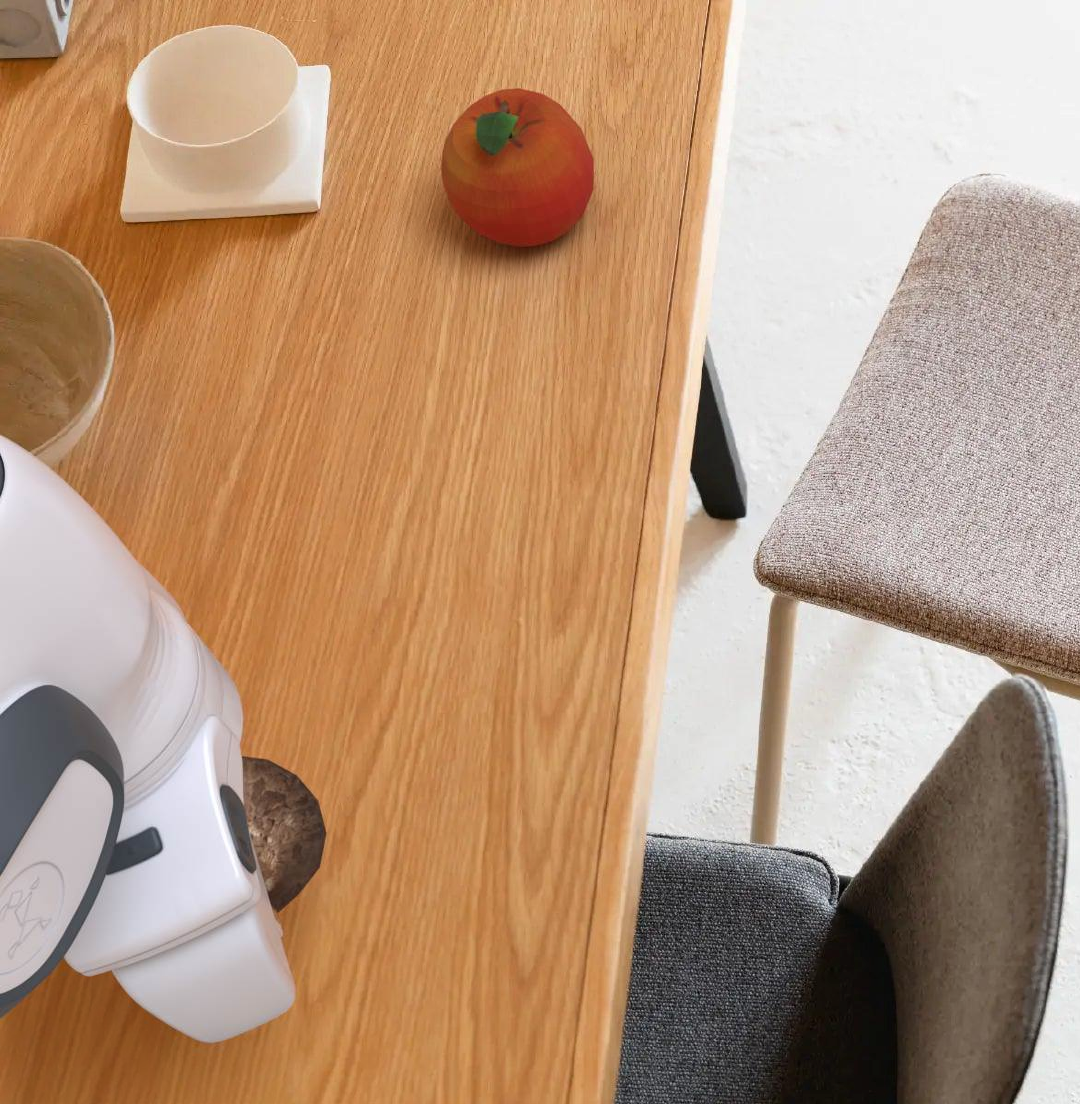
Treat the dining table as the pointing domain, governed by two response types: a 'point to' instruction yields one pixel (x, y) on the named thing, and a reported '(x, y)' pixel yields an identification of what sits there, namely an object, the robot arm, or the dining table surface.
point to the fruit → (517, 168)
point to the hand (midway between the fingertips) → (239, 850)
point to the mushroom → (282, 828)
